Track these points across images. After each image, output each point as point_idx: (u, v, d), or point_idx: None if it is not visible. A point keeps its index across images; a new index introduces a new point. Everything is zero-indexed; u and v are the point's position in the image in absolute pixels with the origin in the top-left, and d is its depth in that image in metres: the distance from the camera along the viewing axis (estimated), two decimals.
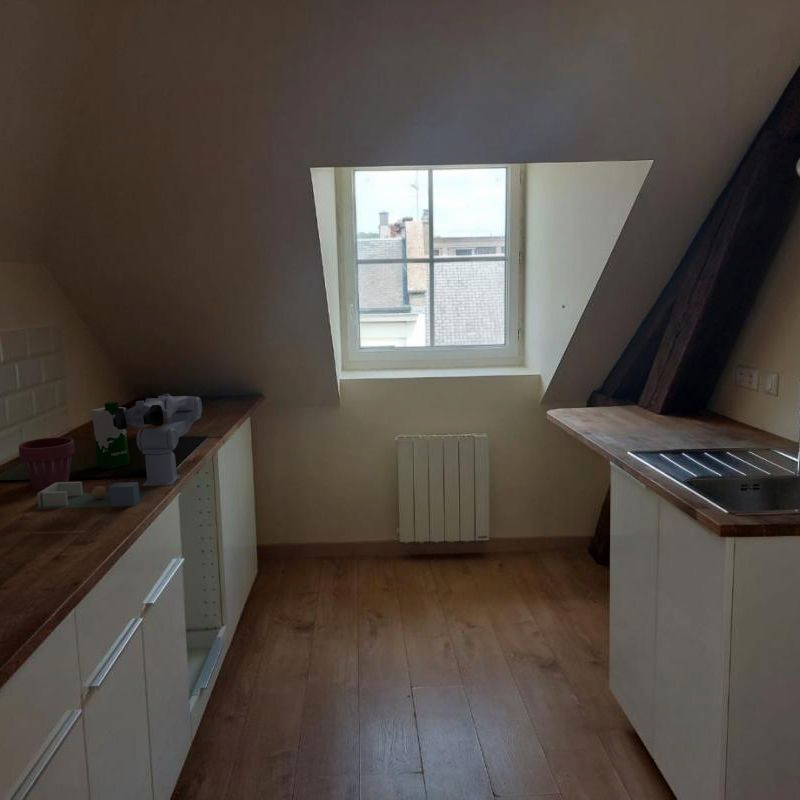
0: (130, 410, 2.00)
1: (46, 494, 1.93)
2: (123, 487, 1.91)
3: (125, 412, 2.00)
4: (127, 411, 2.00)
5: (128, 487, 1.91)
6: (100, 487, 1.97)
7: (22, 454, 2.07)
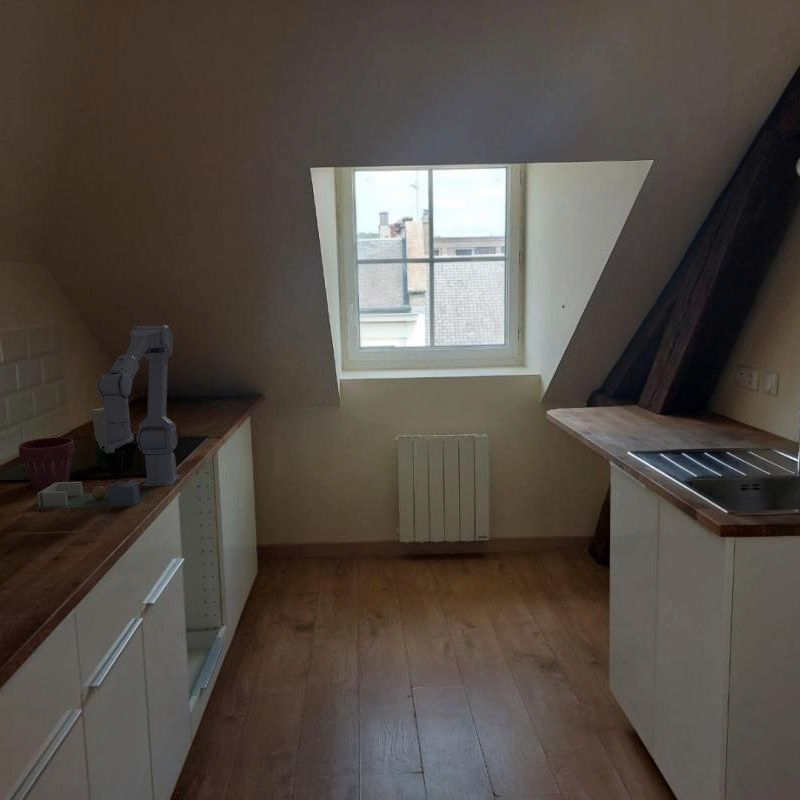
0: None
1: (46, 494, 1.93)
2: (123, 487, 1.91)
3: None
4: None
5: (128, 487, 1.91)
6: (100, 487, 1.97)
7: (22, 454, 2.07)
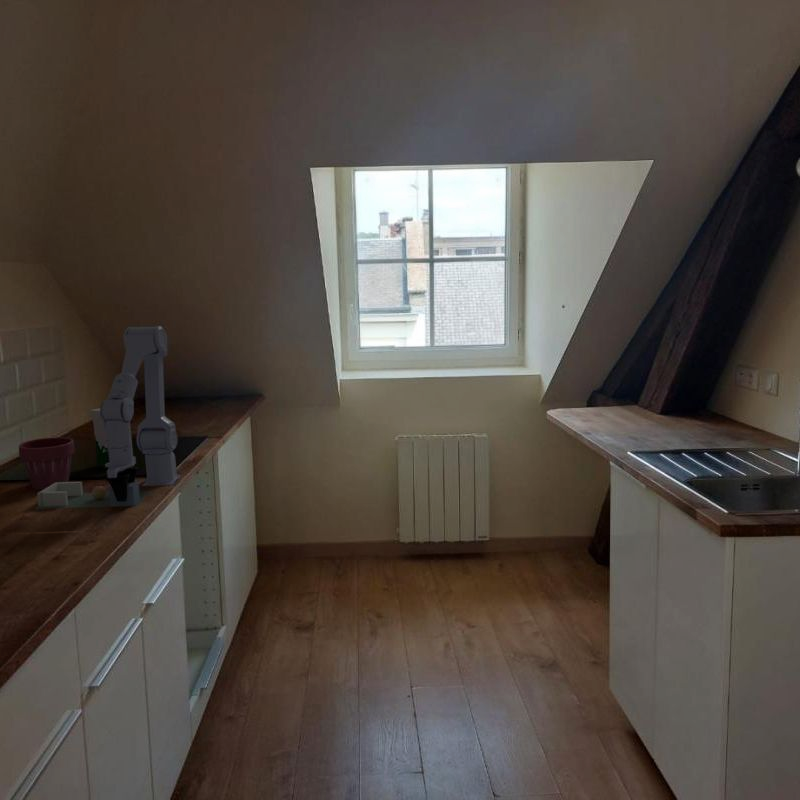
0: None
1: (46, 494, 1.93)
2: None
3: None
4: None
5: (128, 487, 1.91)
6: (100, 487, 1.97)
7: (22, 454, 2.07)
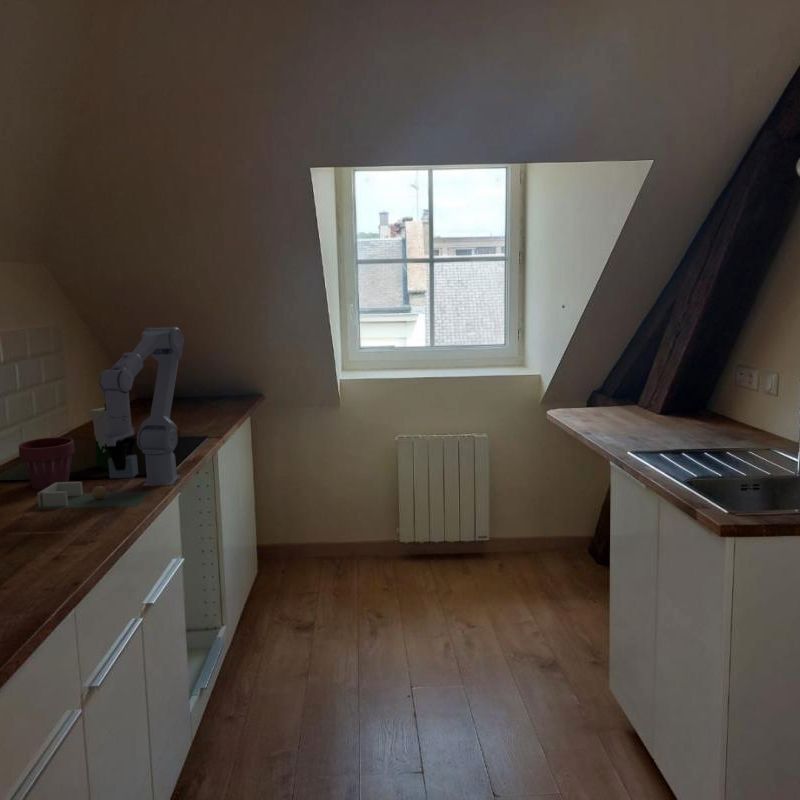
0: None
1: (46, 494, 1.93)
2: None
3: None
4: None
5: (127, 459, 1.94)
6: (100, 487, 1.97)
7: (22, 454, 2.07)
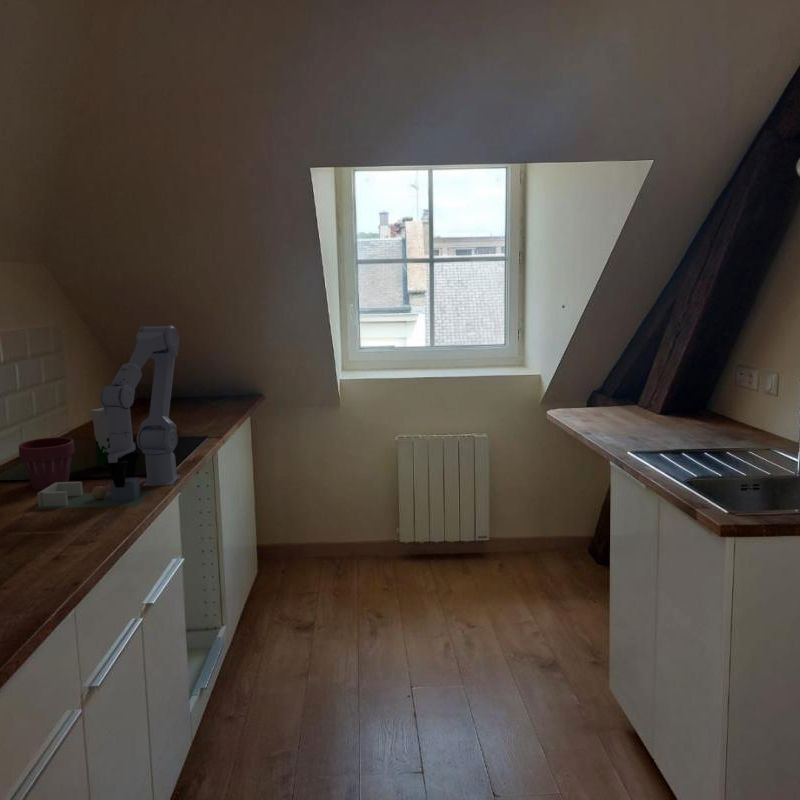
0: None
1: (46, 494, 1.93)
2: None
3: None
4: None
5: (129, 482, 1.95)
6: (100, 487, 1.97)
7: (22, 454, 2.07)
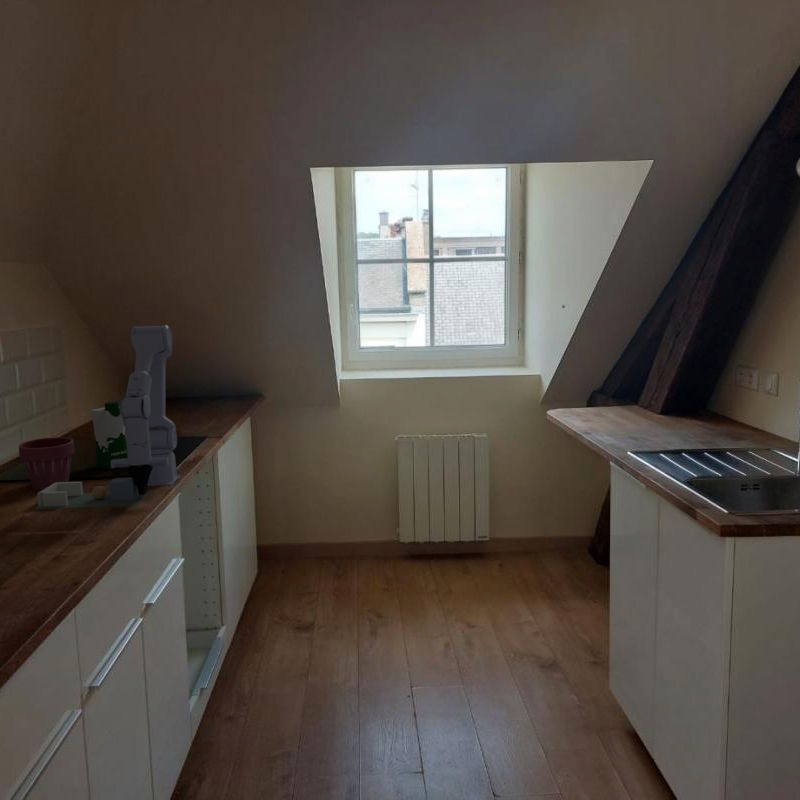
0: None
1: (46, 494, 1.93)
2: (123, 482, 1.95)
3: (122, 464, 1.95)
4: None
5: (128, 482, 1.95)
6: (100, 487, 1.97)
7: (22, 454, 2.07)
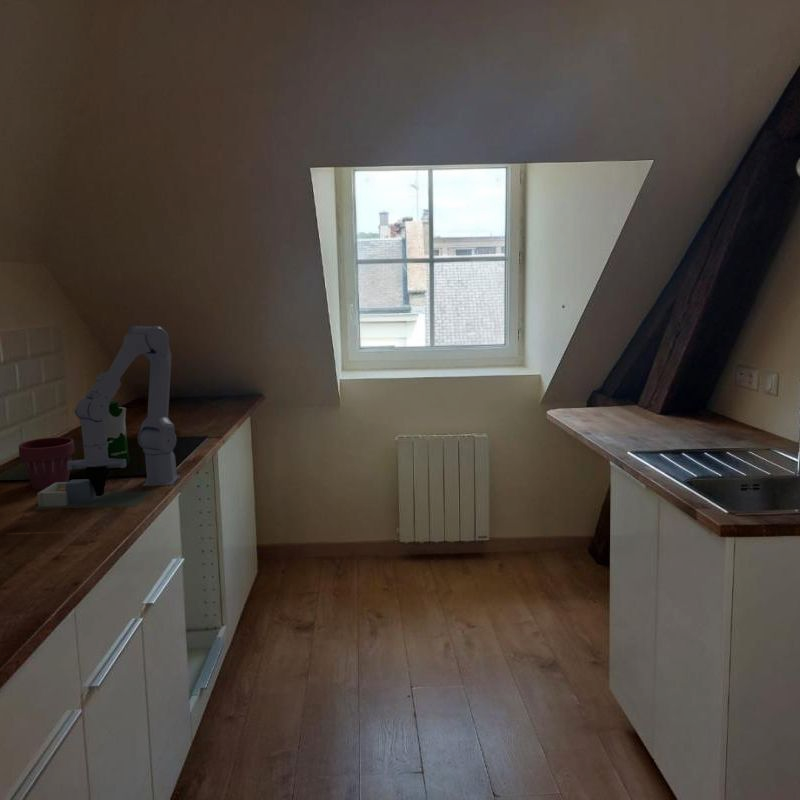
0: None
1: (46, 494, 1.93)
2: (79, 484, 1.95)
3: None
4: None
5: (84, 484, 1.95)
6: None
7: (22, 454, 2.07)
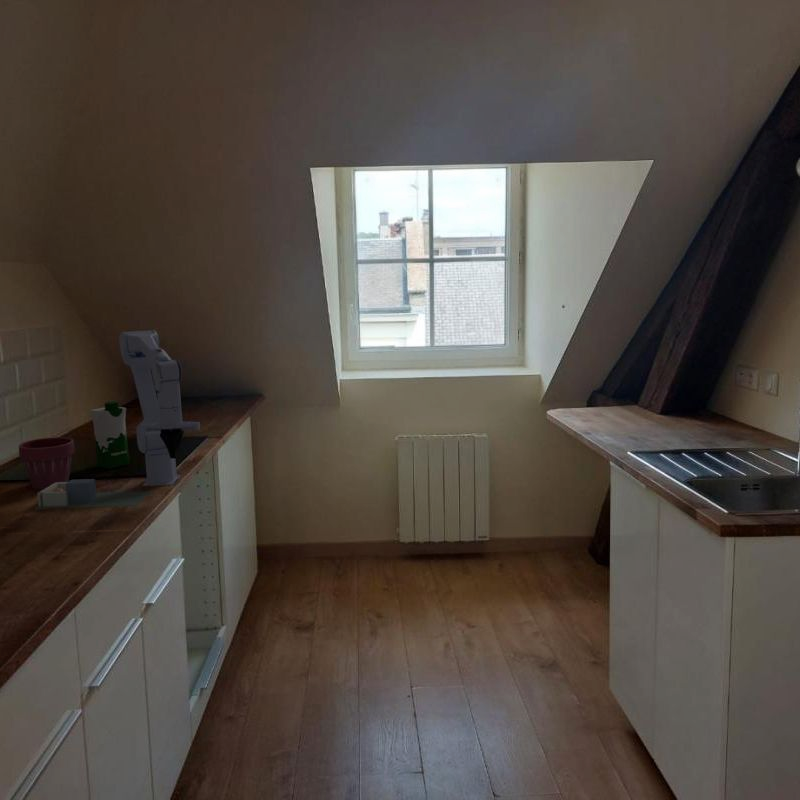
0: None
1: (46, 494, 1.93)
2: (79, 484, 1.95)
3: (154, 427, 1.98)
4: None
5: (84, 484, 1.95)
6: (60, 490, 1.97)
7: (22, 454, 2.07)
